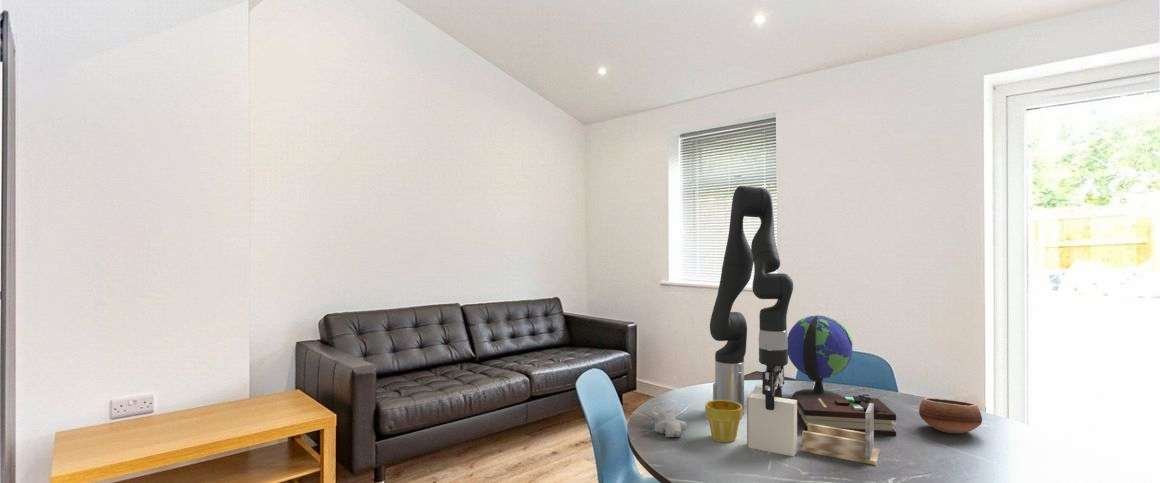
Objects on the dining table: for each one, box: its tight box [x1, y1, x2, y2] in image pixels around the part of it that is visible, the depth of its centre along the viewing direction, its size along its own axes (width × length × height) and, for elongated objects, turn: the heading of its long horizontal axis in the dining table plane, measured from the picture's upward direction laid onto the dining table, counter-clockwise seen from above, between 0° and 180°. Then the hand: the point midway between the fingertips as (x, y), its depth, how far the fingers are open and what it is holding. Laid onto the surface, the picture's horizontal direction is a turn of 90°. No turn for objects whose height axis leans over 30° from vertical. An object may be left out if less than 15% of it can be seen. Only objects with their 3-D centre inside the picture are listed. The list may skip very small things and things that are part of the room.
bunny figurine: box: [648, 410, 687, 438], centre depth 169 cm, size 10×5×15 cm
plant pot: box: [704, 399, 743, 443], centre depth 163 cm, size 10×10×10 cm
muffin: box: [750, 384, 763, 395], centre depth 195 cm, size 6×6×7 cm
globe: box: [787, 314, 854, 400], centre depth 202 cm, size 22×22×30 cm
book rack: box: [801, 403, 881, 466], centre depth 152 cm, size 18×10×13 cm, turn 57°
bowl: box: [918, 397, 983, 434], centre depth 167 cm, size 16×16×10 cm
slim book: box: [746, 393, 798, 457], centre depth 154 cm, size 12×4×14 cm, turn 57°
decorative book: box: [794, 393, 897, 437], centre depth 175 cm, size 19×8×30 cm
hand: (773, 405), depth 154 cm, fingers open, 8 cm apart
